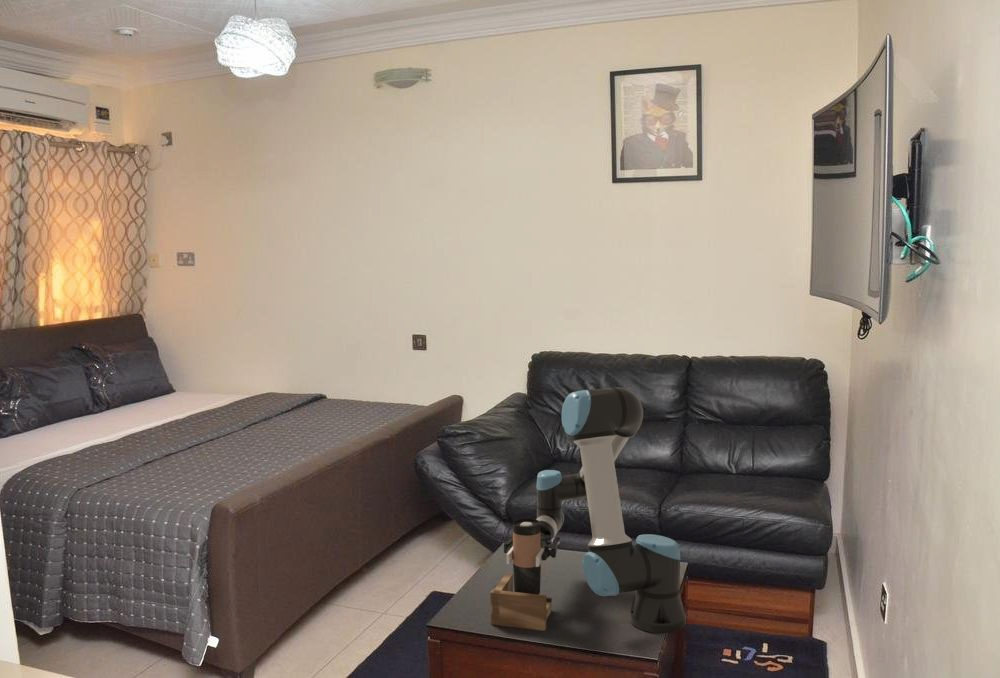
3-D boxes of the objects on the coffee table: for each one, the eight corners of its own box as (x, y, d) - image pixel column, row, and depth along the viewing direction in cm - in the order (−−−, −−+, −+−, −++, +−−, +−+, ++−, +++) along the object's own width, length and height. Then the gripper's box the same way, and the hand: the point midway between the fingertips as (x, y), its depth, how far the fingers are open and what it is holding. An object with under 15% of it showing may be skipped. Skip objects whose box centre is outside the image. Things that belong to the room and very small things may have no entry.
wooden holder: (504, 603, 239) (504, 573, 238) (555, 608, 235) (555, 578, 234) (490, 624, 226) (490, 592, 225) (544, 630, 222) (544, 598, 221)
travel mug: (546, 590, 231) (545, 520, 229) (532, 600, 224) (531, 528, 222) (522, 585, 235) (521, 516, 233) (508, 594, 229) (507, 524, 226)
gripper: (575, 547, 243) (559, 577, 221) (508, 541, 249) (486, 570, 227) (575, 523, 242) (559, 550, 221) (508, 517, 248) (486, 543, 226)
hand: (522, 560), depth 224 cm, fingers closed on travel mug, 7 cm apart
